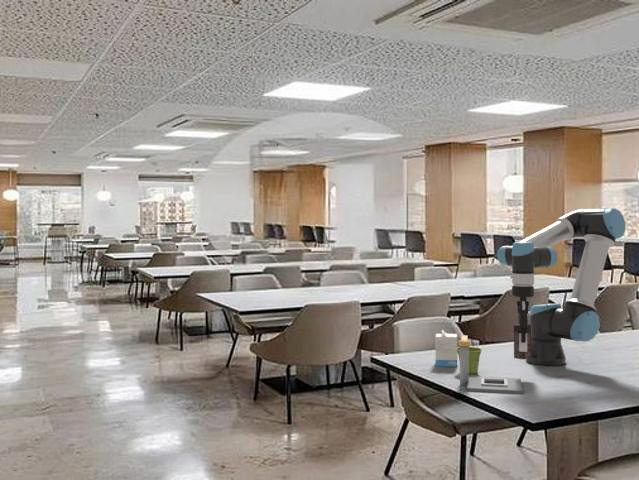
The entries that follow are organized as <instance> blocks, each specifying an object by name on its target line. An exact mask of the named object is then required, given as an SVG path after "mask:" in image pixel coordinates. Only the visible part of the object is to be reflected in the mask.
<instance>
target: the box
mask: <svg viewBox="0 0 639 480" xmlns="http://www.w3.org/2000/svg"><path fill="white" fill-rule="evenodd" d="M527 330H528V332H527V352H520V351H519V333H518V331H520V324H518V323H516V324H514V325H513V358H514V359H518V360H526V359H527V358H530V357H531V324H530V323H527Z"/></svg>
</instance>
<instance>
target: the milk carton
mask: <svg viewBox="0 0 639 480" xmlns="http://www.w3.org/2000/svg"><path fill="white" fill-rule="evenodd" d="M434 336H435V339H434V340H435V342H434V343H435V367H442V368H443V367H445V368H446V367H447V368H448V367H450V368H455V367H456V368H457V367H458V352H457V350H456V348H458V333H447V332H446V331H445V330H444V329H442V330H441V333H436V334H435V335H434Z"/></svg>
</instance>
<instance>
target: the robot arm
mask: <svg viewBox="0 0 639 480" xmlns="http://www.w3.org/2000/svg"><path fill="white" fill-rule="evenodd" d="M625 232H626V220H625V217H624V215H623V213H622V212H621V211H620V210H619V209H617V208H613V207H612V208H611V207H602V208H599V207H597V208H580V209H576V210H573V211H570V212H568V213H566V214H564V215H562V216H560V217H557V218H556V219H555V220H554V221H553V223H552V224H550V225H548V226H547V227H545V228H542V229H541V230H539V231H537V232H534V233H533V234H531V235H530V236H528V237H526V238H524V239H522V240H520V241H515V242H513V243H512V245H502V246H501V247H499V249H498V250H497V255H496V257H497V261H498V262H499V263H500V265H503V266H507V267H512V268H511V269H512V270H511V275H510V276H509V277H510V279H512V280H511V284H512V286H511V295H512V297H514V298H515V297H517V298H518V300H517V301H516V306H517V307H516V308H517V314H518V315H517V316H518V323H517V324H520V331H518V333H519V351H520V352H527V332H528V330H527V324H528V315H529V324H531V357H530V358H527V359H525V362H526V363H529V364H532V365H533V364H534V365H539V366H561V365H565V364H566V359H567V358H566V354H565V352H564V348H563V345H562V340H563V339H564V340H570V341H575V342H589V341H591V340H593V339H594V338H595V337H596V335H598V332H599V330H600V326H601V323H600V316H599V314H598V313H597V308H596V307H595V301H596V297H597V293H598V291H599V290H598V289H599V286H600V284H601V283H600V282H601V278H602V275H603V270H604V268H605V264H606V260H607V257H608V253H609V249H610V248H612V247H614V246H615V243H616V240H617V239H620V238H622V237H623V236H624V234H625ZM574 238H576V239H577V238H583V240H584V242H585V245H584V248H583V251H582V252H583V253H582V256H581V259H580V263H579V265H578V270H577V275H576V277H575V282H574V284H573V289H572V293H571V296H570V298H569V299H568V300H566V301H565V302H564V306H562V304H561V303H546V304H543V303H541V304H534V305H532V306H531V307H530V302H529V301H528V300H527V298H532V297H534V296H535V286H533V285H534V284H535V269H539V268H541V269H542V268H543V269H544V268H546V269H547V268H551V267H553V266H555V264H556V263H557V262H558V253H557V251H556V250H555V248H553V246H555V245H557V244H558V243H560V242H562V241H569V240H571V239H574ZM529 307H530V309H529ZM529 311H530V312H529ZM529 313H530V314H529Z"/></svg>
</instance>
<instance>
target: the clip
mask: <svg viewBox="0 0 639 480" xmlns="http://www.w3.org/2000/svg"><path fill="white" fill-rule="evenodd" d="M468 336H469V335H465V334H464V335H463V334H461V339H460V340H457V347H460V346H463V347H467V346H469V347H471V341H470V340H468Z"/></svg>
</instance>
